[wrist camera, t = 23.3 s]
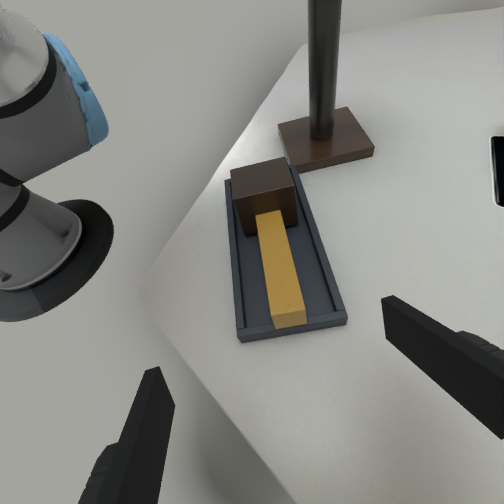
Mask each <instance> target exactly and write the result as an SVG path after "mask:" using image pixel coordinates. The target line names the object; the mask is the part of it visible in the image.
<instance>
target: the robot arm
mask: <svg viewBox="0 0 504 504" xmlns="http://www.w3.org/2000/svg"><path fill="white" fill-rule="evenodd" d="M108 131H109V127H108V123H107V120H106V117H105V115H104V112H103V110H102V108H101V106H100V104H99V102H98V100H97V98H96V96H95V94H94V92H93V90H92V89H91V88H90V87H89V85H88V82H87V80H86V78H85V76H84V74H83V72H82V71H81V69H80V67H79V66H78V64H77V62H76V61H75V59H74V58H73V56H72V55H71V53H70V52H69V50H68V49H67V47H66V46H65V45H64V44H63V42H62V41H61V40H60V39H59V38H58V37H57V36H56V35H54V34H41V33H40V31H39V30H38V29H37V28H36V26H35V25H34V24H33V23H32V22H30V21H29V20H28V19H27V18H25V17H24V16H22V15H20V14H18V13H16V12H13V11H11V10H8V9H5V8H3V7H2V6H1V5H0V289H1V290H3V291H6V292H21V291H25V290H29V289H31V288H34V287H36V286H39V285H40V284H42V283H44V282H46V281H48V280H49V279H51V278H52V277H54V276H55V275H56V274H58V273H59V272H60V271H61V270H62V269H63V268H64V267H65V266H67V264H68V263H69V262H70V261H71V260H72V259H73V258H74V256H75V255H76V254H77V252H78V251H79V249H80V247H81V245H82V243H83V240H84V237H85V225H84V222H83V221H82V220H81V219H80V218H79V217H78V216H77V215H76V214H75V213H73V212H72V211H70V210H69V209H67V208H65V207H63V206H60V205H58V204H56V203H54V202H52V201H50V200H47V199H45V198H43V197H41V196H39V195H37V194H35V193H33V192H31V191H30V190H29V189H27V188H26V187H25V186H24V185H23V183H25V182H27V181H28V180H30V179H32V178H34V177H36V176H38V175H40V174H42V173H44V172H46V171H48V170H50V169H52V168H54V167H56V166H58V165H60V164H62V163H64V162H66V161H68V160H70V159H72V158H74V157H76V156H78V155H80V154H82V153H84V152H87V151H89V150H90V149H91V148H92V147H93V146H95V145H96V144H98V143H99V142H101V141H103V140H104V139H105V138H106V137H107V135H108ZM381 303H382V311H383V319H384V327H385V335H386V339H387V340H388V341H389V342H390V343H391V344H393V345H394V346H395V347H396V348H397V349H398V350H399V351H401V352H402V353H403V354H404V355H405V356H406V357H407V358H409V359H410V360H411V361H412V362H413V363H414V364H415V365H416V366H418V367H419V368H420V369H421V370H422V371H423V372H424V373H426V374H427V375H428V376H429V377H430V378H431V379H432V380H434V381H435V382H436V383H437V384H438V385H439V386H440V387H442V388H443V389H444V390H445V391H446V392H447V393H448V394H449V395H451V396H452V397H453V398H454V399H455V400H456V401H457V402H459V403H460V404H461V405H462V406H463V407H464V408H465V409H467V410H468V411H469V412H470V413H471V414H472V415H473V416H475V417H476V418H477V419H478V420H479V421H480V422H481V423H482V424H484V425H485V426H486V427H487V428H488V429H489V430H490V431H492V432H493V433H494V434H495V435H496V436H497V437H498V438H500V439H501V440H502V439H504V350H500V348H499V347H497V346H495V345H493V344H490V343H489V342H488V341H486V340H484V339H483V338H481V337H479V336H477V335H474V334H471V333H468V332H465V331H460V332H457V333H456V332H454V331H452V330H451V329H449V328H447V327H446V326H444V325H442V324H441V323H439V322H437V321H436V320H434V319H432V318H431V317H429V316H427V315H426V314H424V313H422V312H421V311H419V310H417V309H416V308H414V307H412V306H411V305H409V304H407V303H406V302H404V301H402V300H401V299H399V298H397V297H396V296H394V295H392V296H388V297H385V298H382V299H381ZM174 409H175V404H174V401H173V399H172V396H171V394H170V391H169V389H168V387H167V384H166V382H165V380H164V377H163V374H162V372H161V369H160V367H159V366H158V367H155V368H152V369H149V370H146V371H145V373H144V375H143V378H142V380H141V383H140V386H139V388H138V391H137V394H136V396H135V399H134V402H133V404H132V407H131V410H130V412H129V415H128V417H127V420H126V423H125V425H124V428H123V431H122V433H121V436H120V439H119V441H118V442H117V443H114V444H111V445H108V446H107V447H106V448H105V449H104V451H103V452H102V453H101V455H100V456H99V457H98V459H97V461H96V463H95V465H94V467H93V470H92V472H91V476H90V477H89V479H88V482H87V484H86V488H85V489H84V491H83V493H82V495H81V498H80V500H79V502H78V504H157V503H158V498H159V493H160V487H161V481H162V475H163V470H164V465H165V459H166V454H167V448H168V443H169V437H170V431H171V426H172V420H173V415H174Z"/></svg>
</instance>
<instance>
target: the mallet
mask: <svg viewBox="0 0 504 504" xmlns="http://www.w3.org/2000/svg"><path fill="white" fill-rule="evenodd" d="M230 173H231V187H232V200H233V203H234V206H235V209H236V212H237V215H238V218H239V221H240V224H241V227H242V230H243V232H244V235H249V234H254V233H258V236H259V242H260V249H261V255H262V261H263V268H264V274H265V280H266V287H267V293H268V299H269V306H270V312H271V317H272V320H273V323H274V326H275V329H280V328H286V327H292V326H297V325H303V324H307V318H306V309H305V305H304V301H303V297H302V293H301V289H300V285H299V281H298V278H297V274H296V270H295V266H294V262H293V258H292V254H291V250H290V246H289V242H288V239H287V235H286V231H285V227H286V226H291V225H296V224H298V212H297V201H296V191H295V184H294V181H293V178H292V175H291V172H290V169H289V166H288V164H287V161H286V158H285V157H281V158H277V159H273V160H269V161H265V162H261V163H257V164H252V165H248V166H244V167H240V168H236V169H232V170H230Z"/></svg>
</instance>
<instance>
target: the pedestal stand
mask: <svg viewBox="0 0 504 504" xmlns="http://www.w3.org/2000/svg"><path fill="white" fill-rule="evenodd" d="M341 5H342V0H308V54H309V116H308V117H304V118H300V119H296V120H292V121H288V122H284V123H280V124H278V132H279V135H280V138H281V141H282V145H283V148H284V151H285V154H286V157H287V160H288V163H289V165H290V164H294V163H295V166H296V169H297V171H298V173H302V172H307V171H311V170H315V169H319V168H324V167H328V166H332V165H336V164H341V163H345V162H349V161H354V160H358V159H362V158H366V157H371V156H373V152H374V148H375V146H374V145H373V143H372V142H371V140H370V139H369V137H368V136H367V135H366V133H365V132H364V130H363V129H362V127H361V126H360V124H359V123H358V121H357V120H356V119H355V117H354V116H353V114H352V113H351V111H350V110H349V108H348V107H343V108H339V109H335V99H336V83H337V68H338V52H339V36H340V20H341Z"/></svg>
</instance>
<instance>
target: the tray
mask: <svg viewBox="0 0 504 504" xmlns="http://www.w3.org/2000/svg"><path fill="white" fill-rule="evenodd" d="M288 166H289V169H290V172H291V175H292V178H293V181H294V184H295V191H296V201H297V212H298V224H296V225H291V226H286V227H285V231H286V235H287V239H288V242H289V246H290V250H291V254H292V258H293V262H294V266H295V270H296V274H297V278H298V281H299V285H300V289H301V293H302V297H303V301H304V305H305V309H306V318H307V324H303V325H297V326H292V327H286V328H280V329H275V326H274V323H273V320H272V317H271V312H270V306H269V299H268V293H267V287H266V280H265V274H264V268H263V261H262V255H261V249H260V242H259V236H258V233H254V234H249V235H244V232H243V230H242V227H241V224H240V221H239V218H238V215H237V212H236V209H235V206H234V203H233V200H232V187H231V179H227V180H225V193H226V206H227V218H228V230H229V242H230V255H231V267H232V279H233V292H234V304H235V316H236V329H237V337H238V339H239V340H240V341H241V343H245V342H251V341H256V340H262V339H267V338H273V337H279V336H284V335H290V334H296V333H301V332H307V331H312V330H318V329H324V328H329V327H335V326H340V325H346V322H347V319H348V316H347V313H346V310H345V307H344V304H343V301H342V298H341V295H340V292H339V290H338V287H337V284H336V281H335V278H334V275H333V272H332V269H331V266H330V264H329V261H328V258H327V255H326V252H325V249H324V246H323V243H322V241H321V238H320V235H319V232H318V229H317V226H316V223H315V220H314V218H313V215H312V212H311V209H310V206H309V203H308V200H307V197H306V194H305V192H304V189H303V186H302V183H301V180H300V177H299V174H298V171H297V169H296V166H295V163H294V164H290V165H288Z"/></svg>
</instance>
